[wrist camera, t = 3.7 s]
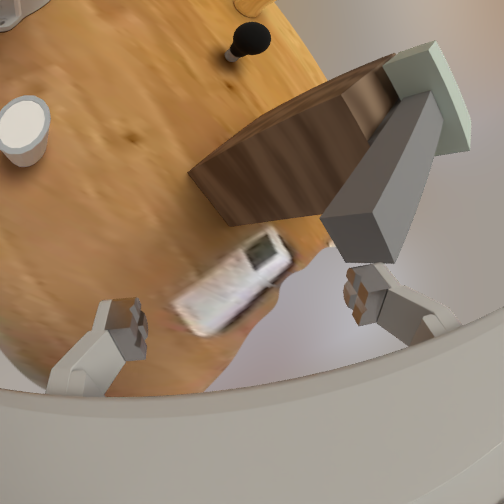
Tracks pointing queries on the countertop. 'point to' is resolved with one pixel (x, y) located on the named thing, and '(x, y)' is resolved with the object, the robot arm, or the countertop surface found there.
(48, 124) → the white short cylinder
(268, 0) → the beer glass
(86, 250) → the countertop surface
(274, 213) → the walnut stand
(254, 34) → the light bulb
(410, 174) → the grey mallet
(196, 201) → the countertop surface
